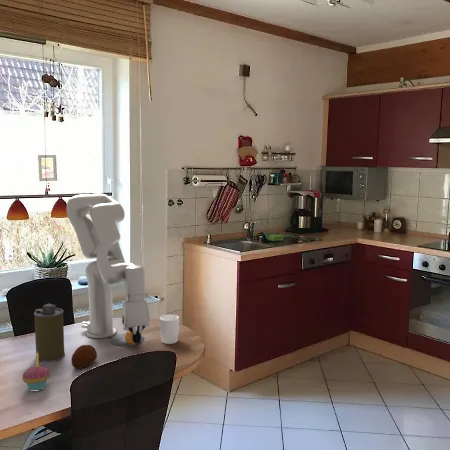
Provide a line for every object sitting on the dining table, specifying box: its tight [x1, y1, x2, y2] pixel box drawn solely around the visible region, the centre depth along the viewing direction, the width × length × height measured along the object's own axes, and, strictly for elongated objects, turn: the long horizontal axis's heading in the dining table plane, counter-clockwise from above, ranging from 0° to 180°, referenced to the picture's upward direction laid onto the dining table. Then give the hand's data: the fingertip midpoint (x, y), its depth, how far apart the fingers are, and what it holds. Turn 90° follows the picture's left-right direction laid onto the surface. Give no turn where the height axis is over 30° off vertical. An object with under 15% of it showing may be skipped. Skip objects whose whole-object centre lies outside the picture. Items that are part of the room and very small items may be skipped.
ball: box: [125, 329, 137, 346], centre depth 202 cm, size 6×6×6 cm
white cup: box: [159, 314, 180, 345], centre depth 206 cm, size 8×8×10 cm
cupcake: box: [22, 351, 51, 391], centre depth 163 cm, size 9×8×12 cm
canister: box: [33, 303, 66, 362], centre depth 188 cm, size 11×10×20 cm
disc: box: [109, 332, 145, 347], centre depth 207 cm, size 14×14×1 cm
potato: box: [71, 344, 98, 369], centre depth 181 cm, size 8×12×8 cm, turn 164°
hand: (136, 342), depth 199 cm, fingers closed
